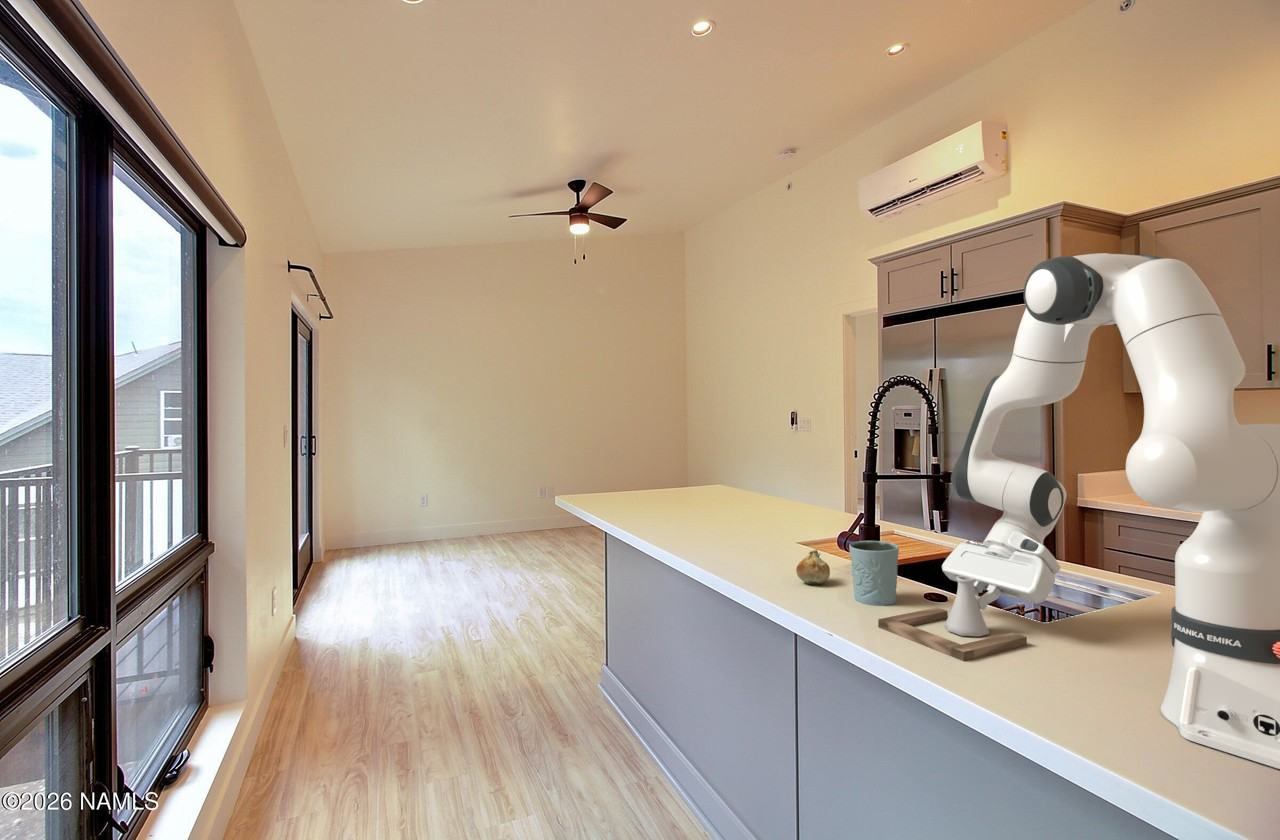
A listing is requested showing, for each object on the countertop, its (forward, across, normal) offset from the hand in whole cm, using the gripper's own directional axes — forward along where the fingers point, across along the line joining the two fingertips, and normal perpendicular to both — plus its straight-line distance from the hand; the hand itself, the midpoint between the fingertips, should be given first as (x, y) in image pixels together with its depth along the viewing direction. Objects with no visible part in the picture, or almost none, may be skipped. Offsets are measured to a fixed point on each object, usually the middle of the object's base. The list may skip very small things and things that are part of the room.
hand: (974, 606), depth 123 cm
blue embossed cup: (+5, -23, +1) cm, 23 cm away
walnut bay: (+8, 0, -2) cm, 8 cm away
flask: (+5, 0, +2) cm, 5 cm away
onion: (+8, -40, -1) cm, 41 cm away
